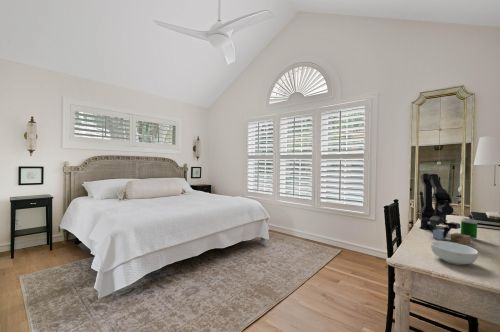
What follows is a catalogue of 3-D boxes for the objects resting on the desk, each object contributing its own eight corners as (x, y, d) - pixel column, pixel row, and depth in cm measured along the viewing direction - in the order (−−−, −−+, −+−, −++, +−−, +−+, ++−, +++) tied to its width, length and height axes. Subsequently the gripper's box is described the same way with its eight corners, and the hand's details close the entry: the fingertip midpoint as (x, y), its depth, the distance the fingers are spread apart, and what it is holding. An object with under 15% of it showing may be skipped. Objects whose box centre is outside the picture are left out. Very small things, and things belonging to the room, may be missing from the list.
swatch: (443, 236, 154) (443, 235, 154) (447, 235, 156) (447, 234, 156) (453, 238, 150) (453, 238, 150) (456, 237, 152) (456, 237, 152)
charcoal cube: (435, 234, 159) (435, 226, 159) (436, 232, 163) (436, 225, 163) (444, 235, 156) (445, 228, 156) (445, 234, 159) (446, 226, 159)
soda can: (477, 241, 146) (478, 221, 146) (461, 238, 150) (461, 219, 150) (475, 238, 152) (476, 219, 152) (460, 235, 156) (460, 217, 156)
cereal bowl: (427, 260, 114) (428, 245, 114) (433, 252, 126) (434, 238, 126) (476, 273, 102) (477, 256, 102) (478, 262, 114) (478, 247, 114)
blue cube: (432, 237, 151) (433, 229, 151) (436, 236, 154) (437, 228, 154) (442, 239, 147) (442, 231, 147) (446, 238, 149) (446, 230, 149)
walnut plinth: (450, 240, 146) (450, 234, 146) (455, 239, 149) (455, 232, 149) (465, 244, 140) (465, 237, 140) (470, 242, 143) (470, 235, 143)
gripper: (417, 209, 154) (416, 234, 155) (452, 215, 138) (451, 242, 138) (426, 208, 160) (425, 231, 160) (461, 214, 143) (460, 240, 144)
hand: (439, 236), depth 150 cm, fingers closed on blue cube, 5 cm apart
